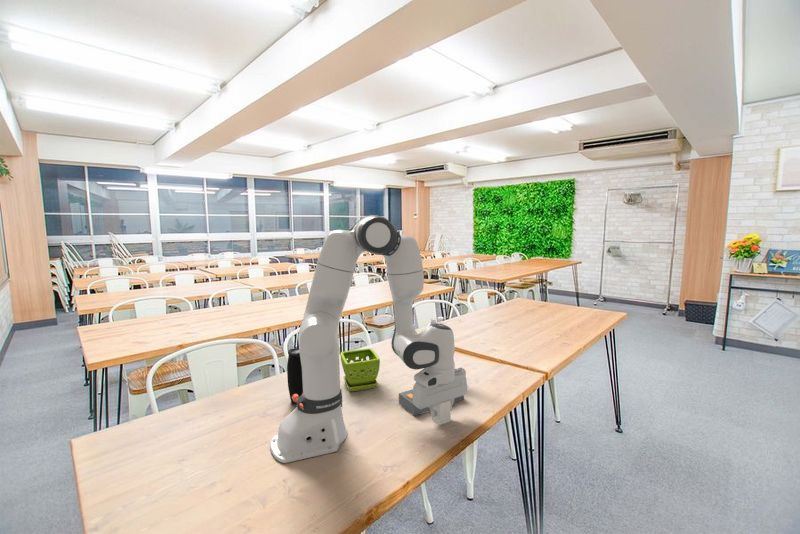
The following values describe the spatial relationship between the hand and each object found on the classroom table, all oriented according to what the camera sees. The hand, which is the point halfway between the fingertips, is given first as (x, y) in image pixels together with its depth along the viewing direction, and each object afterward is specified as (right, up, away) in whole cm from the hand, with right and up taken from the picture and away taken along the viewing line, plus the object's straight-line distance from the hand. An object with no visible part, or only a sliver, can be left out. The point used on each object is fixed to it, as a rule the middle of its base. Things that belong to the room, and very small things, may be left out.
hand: (441, 413), depth 119 cm
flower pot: (-30, 0, +28) cm, 41 cm away
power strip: (-2, -1, +13) cm, 13 cm away
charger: (0, -2, 0) cm, 2 cm away
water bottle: (+2, +1, +36) cm, 36 cm away
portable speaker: (-50, -2, +16) cm, 52 cm away
